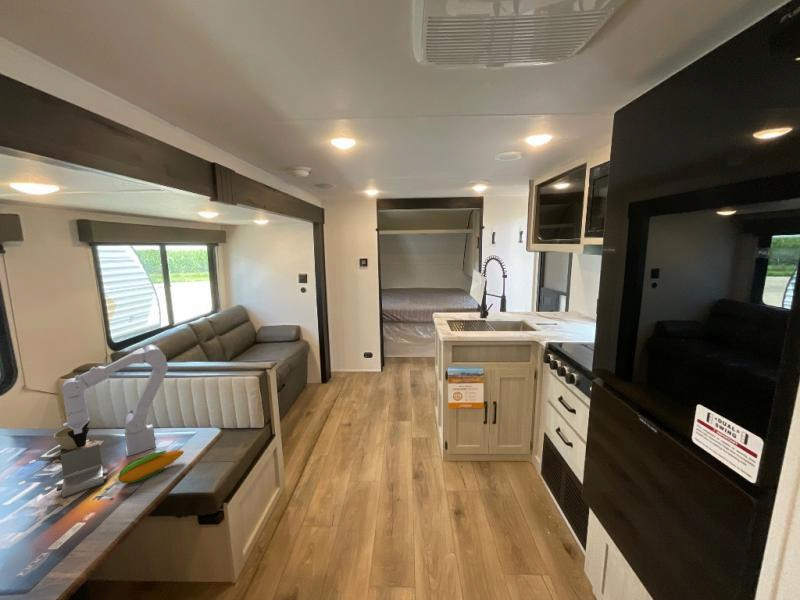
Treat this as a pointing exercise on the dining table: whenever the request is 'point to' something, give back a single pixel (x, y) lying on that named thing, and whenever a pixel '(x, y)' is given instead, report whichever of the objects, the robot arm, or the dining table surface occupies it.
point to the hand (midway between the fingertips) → (81, 442)
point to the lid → (81, 460)
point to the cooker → (82, 481)
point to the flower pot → (65, 439)
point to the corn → (148, 466)
